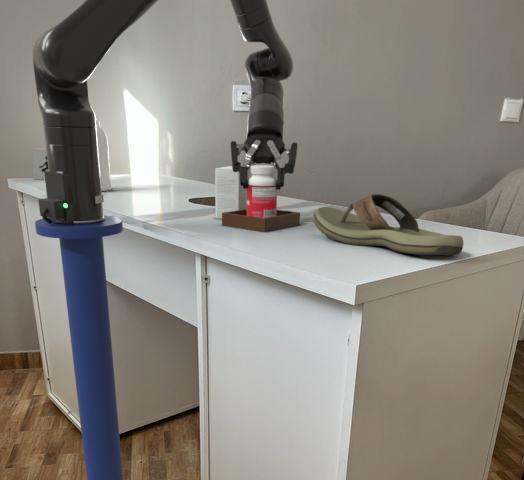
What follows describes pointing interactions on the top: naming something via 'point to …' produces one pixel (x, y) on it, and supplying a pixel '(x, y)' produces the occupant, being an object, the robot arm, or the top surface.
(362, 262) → the top surface
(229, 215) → the tray
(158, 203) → the top surface
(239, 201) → the small box
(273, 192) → the pill bottle
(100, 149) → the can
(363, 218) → the flip flop
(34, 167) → the icon cube
